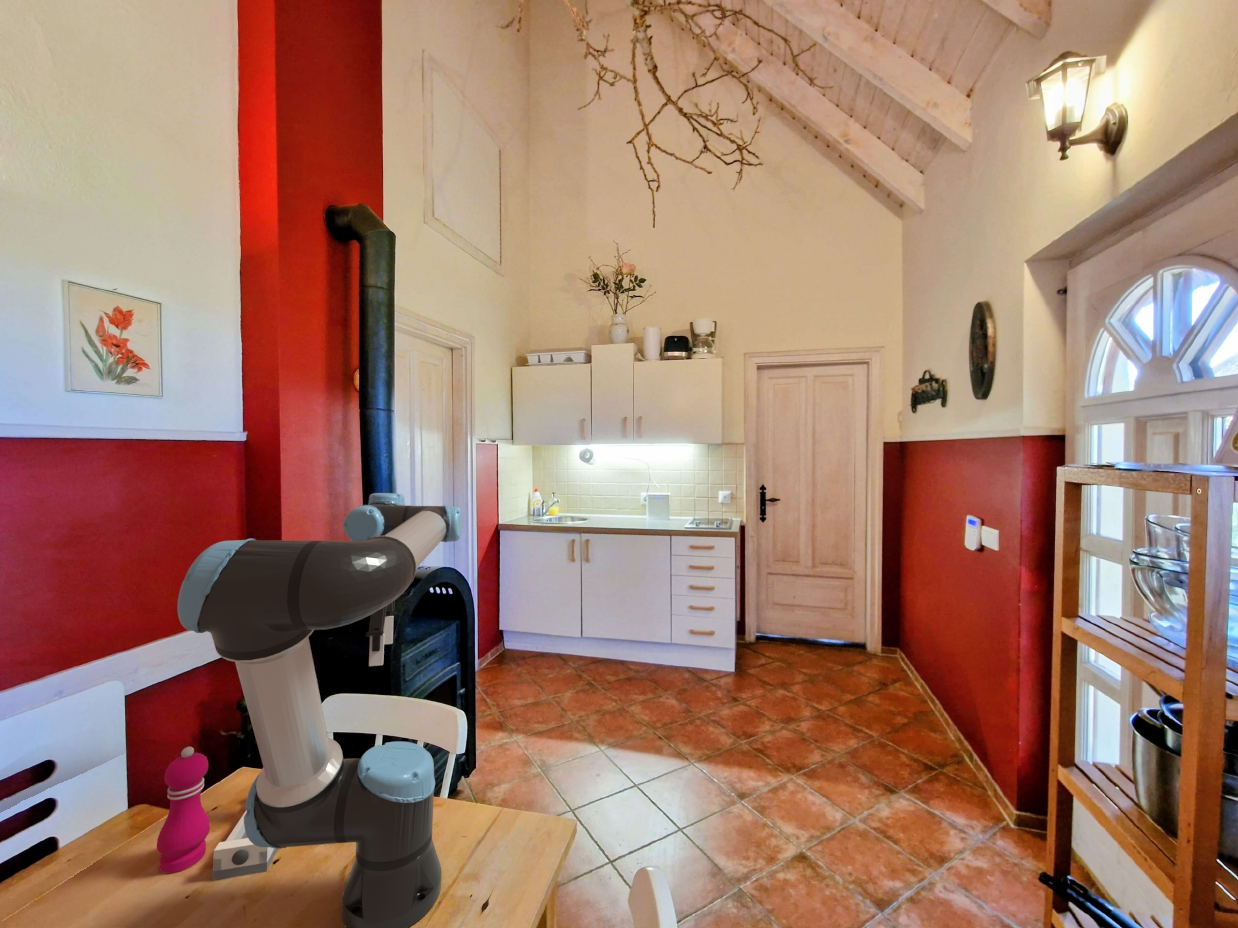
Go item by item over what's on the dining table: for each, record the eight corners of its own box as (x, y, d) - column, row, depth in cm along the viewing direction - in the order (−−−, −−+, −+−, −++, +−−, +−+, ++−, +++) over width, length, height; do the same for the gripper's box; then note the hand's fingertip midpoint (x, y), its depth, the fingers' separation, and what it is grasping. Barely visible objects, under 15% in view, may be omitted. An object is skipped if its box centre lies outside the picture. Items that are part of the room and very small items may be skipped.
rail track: (265, 872, 87) (267, 843, 87) (211, 881, 85) (212, 851, 85) (307, 791, 109) (308, 768, 109) (265, 797, 107) (265, 773, 107)
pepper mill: (177, 879, 85) (182, 761, 85) (144, 871, 86) (149, 755, 87) (219, 848, 92) (223, 739, 92) (187, 841, 94) (192, 734, 94)
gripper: (376, 552, 125) (373, 637, 125) (354, 571, 101) (350, 677, 101) (408, 551, 127) (405, 635, 127) (394, 570, 103) (391, 673, 103)
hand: (381, 653), depth 114 cm, fingers open, 13 cm apart
